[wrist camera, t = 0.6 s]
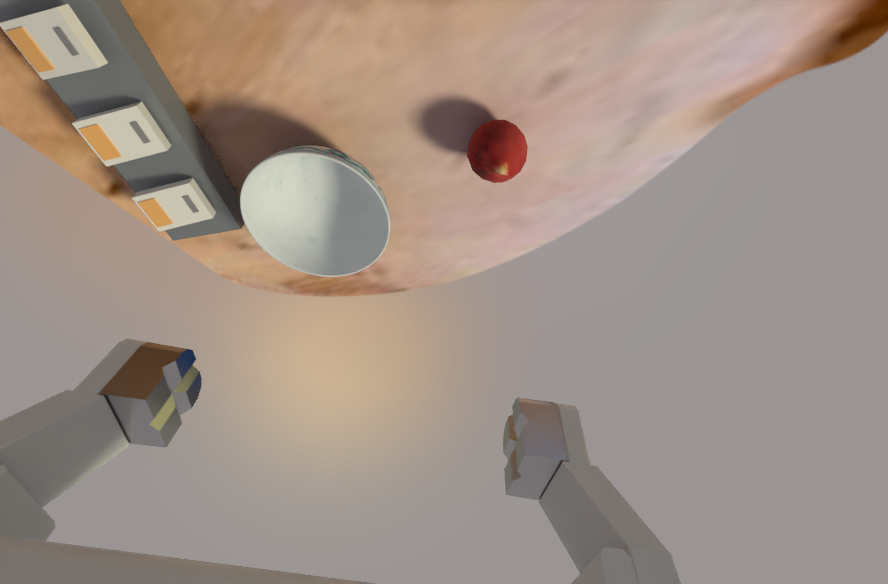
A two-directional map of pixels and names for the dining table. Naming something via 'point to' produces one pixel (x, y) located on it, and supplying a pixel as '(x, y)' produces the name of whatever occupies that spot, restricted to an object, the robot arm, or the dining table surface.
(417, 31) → the dining table surface
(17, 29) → the rocker
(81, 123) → the rocker
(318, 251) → the chinaware
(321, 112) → the dining table surface
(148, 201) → the block
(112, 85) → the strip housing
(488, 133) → the red rounded piece
